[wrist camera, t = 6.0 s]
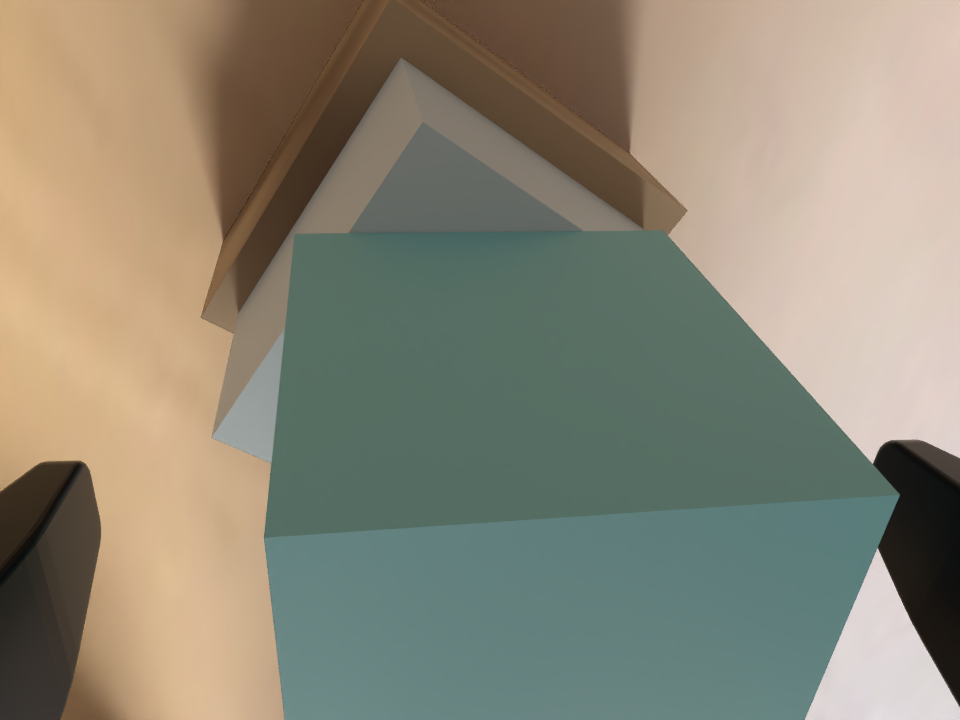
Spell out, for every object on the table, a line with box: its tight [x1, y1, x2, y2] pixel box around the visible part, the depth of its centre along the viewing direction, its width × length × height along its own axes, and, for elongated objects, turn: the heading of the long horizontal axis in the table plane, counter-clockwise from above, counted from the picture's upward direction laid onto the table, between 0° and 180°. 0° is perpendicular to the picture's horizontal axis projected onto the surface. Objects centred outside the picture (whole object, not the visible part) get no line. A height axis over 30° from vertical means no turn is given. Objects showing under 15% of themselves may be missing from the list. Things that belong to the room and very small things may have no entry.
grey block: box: [212, 58, 645, 463], centre depth 12 cm, size 5×5×4 cm
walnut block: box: [201, 0, 687, 333], centre depth 15 cm, size 6×6×4 cm
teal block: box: [264, 230, 900, 720], centre depth 9 cm, size 4×4×5 cm
